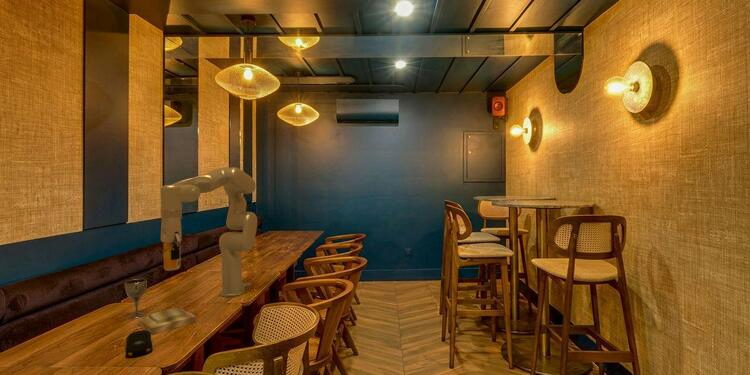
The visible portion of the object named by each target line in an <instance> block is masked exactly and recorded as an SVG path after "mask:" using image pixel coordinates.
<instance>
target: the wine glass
mask: <svg viewBox="0 0 750 375" xmlns="http://www.w3.org/2000/svg"><path fill="white" fill-rule="evenodd" d="M147 284H148V281H147V278H133V279H129V280H127V281H125V282H124V289H125V293H126V295H127V297H128V298H130V299H131V300H132V301H133V303H134V306H135V307H134V308H135V312H133V313H131V314H129V315H127V316H126V318H127V319H137V318H142V317H145V316H146V315H147V313H146V312H145V311H144V312H143V311H142V312H139V311H138V310H139V309H138V307H139V302H140V300H141V299H142V298H143V296H144V295H145V293H146V291H147Z"/></svg>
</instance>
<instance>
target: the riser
mask: <svg viewBox="0 0 750 375" xmlns="http://www.w3.org/2000/svg"><path fill="white" fill-rule="evenodd" d="M196 317H197V316H196V315H194V314H193V313H191V312H189V311H187V310H185V309H183V308H182V307H179V308H177V307H173V308H169V309H166V310H161V311H157V312H154V313H149V314H148V315H147V316H146V315H145V316H142V317H138V320H137V321H138V326H139V327H141V329H142V330H147V331H149V332H150V333H151V336H154V335H156V334H160V333H163V332H168V331H171V330H174V329H177V328H181V327H185V326H187V325H188V326H189V325H191V324H195V323H196V322H197V319H196Z"/></svg>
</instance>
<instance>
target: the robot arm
mask: <svg viewBox="0 0 750 375" xmlns="http://www.w3.org/2000/svg"><path fill="white" fill-rule="evenodd" d="M256 184H257V183H256V182H255V180H254V178H252V177H251V176H250V175H249V174H247V173H246V172H245V171H243V170H242V169H240V168H239V167H237V166H236V167H235V166H233V167H219V168H217V169H214V170H211V171H209V172H207V173H205V174H202V175H198V176H193V177H191V178H187V179H183V180H179V181H177V182H174V183H172V184H166V185H162V186H161V187H160V219H161V226H160V227H161V228H160V241H161V242H162V243H163V236H164V235H165V241H166V243H171V248H172V250H171V260H176V259H180V257H181V243H182V238H183V236H182V221H181V219H182V218H183V206H182V205H183V204H182V203H191V202H196V201H197V200H199V198H200V196H201V194H206V193H210V192H213V191H215V190H217V189H219V188H221V187H223V190H224V192H225V193H226V195H227V197H228V200H229V206H228V212H227V217H226V222H225V224H226V227H227V228H228V230H234V231H226V232H224V233H222V234H221V235H220V237H219V240H218V245H219V250H220V255H221V281H222V282H221V283H222V285H221V286H222V287H221V289H222V290H220V291H219V292H218V294H219V296H220V297H226V298H229V297H236V296H240V295H243V294H244V293H246V287H251V286H252V283H251V282H243V270H242V269H243V267H242V264H243V263H242V261H243V260H242V256H241V253H240V252H249V251H250V250H252V249H253V247H254V245H255V241H256V240H255V239H256V235H257V228H258V217H257V215H256V213H255V212H252V211H247V200H246V198H245V197H244V194H245V195H249V194H252V193H253V192H255V190H256V188H257V186H256ZM174 240H176V242H173V241H174ZM174 244H175V245H174Z"/></svg>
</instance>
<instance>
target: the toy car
mask: <svg viewBox="0 0 750 375" xmlns="http://www.w3.org/2000/svg"><path fill="white" fill-rule="evenodd" d="M125 342H126V345H125V357H126V358H134V357H140V356H145V355H146V354H149V353H151V352H153V341H152V335H151V333H150V332H149V331H147V330H145V329H140V330H139V328H136V329H134V330H133V332H131V333H129V335H128V336H126V340H125Z"/></svg>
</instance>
